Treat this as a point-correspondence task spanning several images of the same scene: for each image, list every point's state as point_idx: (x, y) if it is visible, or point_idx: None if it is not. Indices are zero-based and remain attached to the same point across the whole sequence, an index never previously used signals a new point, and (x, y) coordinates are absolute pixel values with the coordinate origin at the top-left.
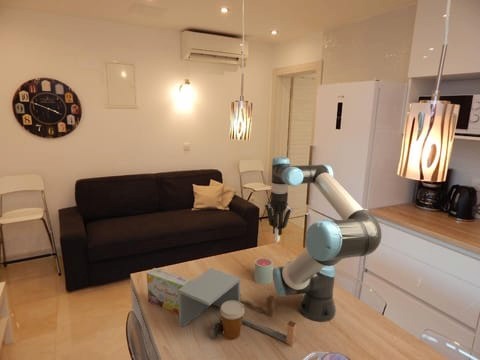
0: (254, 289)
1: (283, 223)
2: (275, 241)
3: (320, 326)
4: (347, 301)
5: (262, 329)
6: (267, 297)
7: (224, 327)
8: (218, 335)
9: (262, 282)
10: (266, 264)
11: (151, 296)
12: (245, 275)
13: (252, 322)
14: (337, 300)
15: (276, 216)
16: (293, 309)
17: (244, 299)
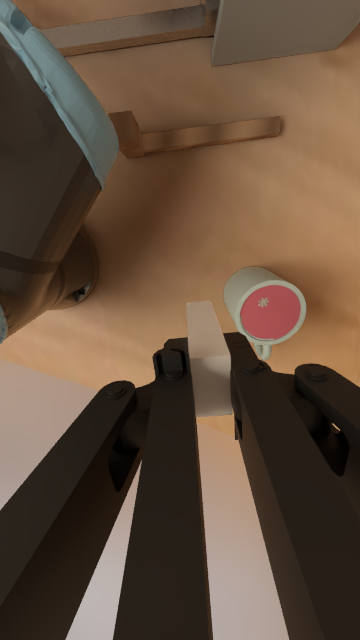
0: (245, 230)
1: (90, 441)
2: (201, 302)
3: None
4: (27, 345)
5: (91, 24)
6: (131, 114)
7: None
8: None
9: (241, 271)
10: (254, 307)
11: None
12: (311, 278)
13: (134, 24)
14: (45, 334)
15: (288, 572)
16: (99, 219)
17: (235, 137)
